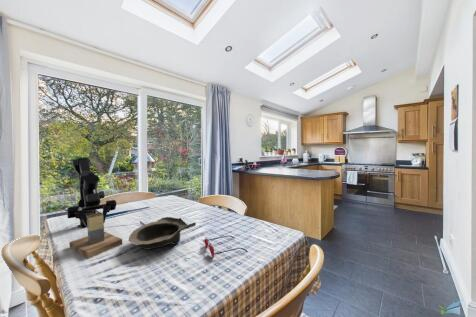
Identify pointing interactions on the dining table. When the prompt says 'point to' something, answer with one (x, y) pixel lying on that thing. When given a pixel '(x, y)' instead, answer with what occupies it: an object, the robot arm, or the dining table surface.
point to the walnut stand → (95, 245)
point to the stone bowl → (158, 233)
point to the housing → (95, 228)
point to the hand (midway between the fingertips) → (95, 224)
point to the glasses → (213, 248)
